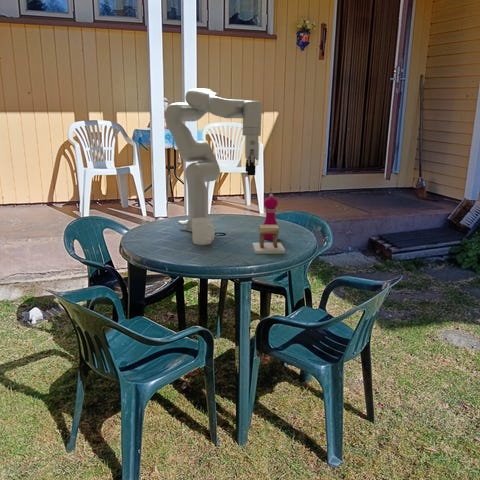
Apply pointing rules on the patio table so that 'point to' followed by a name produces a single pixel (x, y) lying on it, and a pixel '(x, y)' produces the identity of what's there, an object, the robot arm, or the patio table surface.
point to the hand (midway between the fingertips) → (250, 173)
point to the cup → (202, 231)
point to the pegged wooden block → (269, 230)
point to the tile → (268, 248)
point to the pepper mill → (270, 214)
